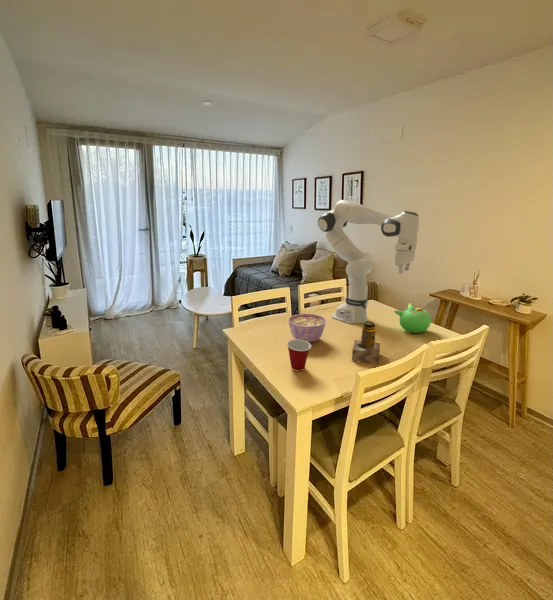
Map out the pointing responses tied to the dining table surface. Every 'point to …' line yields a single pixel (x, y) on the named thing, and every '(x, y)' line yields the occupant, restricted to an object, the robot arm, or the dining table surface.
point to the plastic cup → (298, 353)
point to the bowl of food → (307, 326)
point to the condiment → (367, 337)
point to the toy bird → (414, 319)
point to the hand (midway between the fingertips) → (403, 272)
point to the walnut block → (366, 354)
